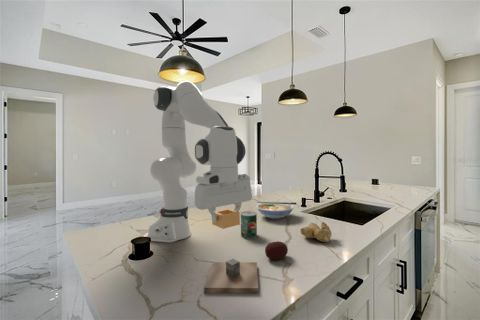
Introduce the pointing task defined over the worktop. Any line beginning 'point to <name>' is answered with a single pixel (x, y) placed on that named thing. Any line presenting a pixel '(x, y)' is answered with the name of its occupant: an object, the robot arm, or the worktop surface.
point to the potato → (276, 250)
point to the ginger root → (317, 232)
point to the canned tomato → (248, 224)
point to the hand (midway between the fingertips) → (225, 218)
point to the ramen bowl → (275, 209)
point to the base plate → (232, 277)
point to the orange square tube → (227, 218)
